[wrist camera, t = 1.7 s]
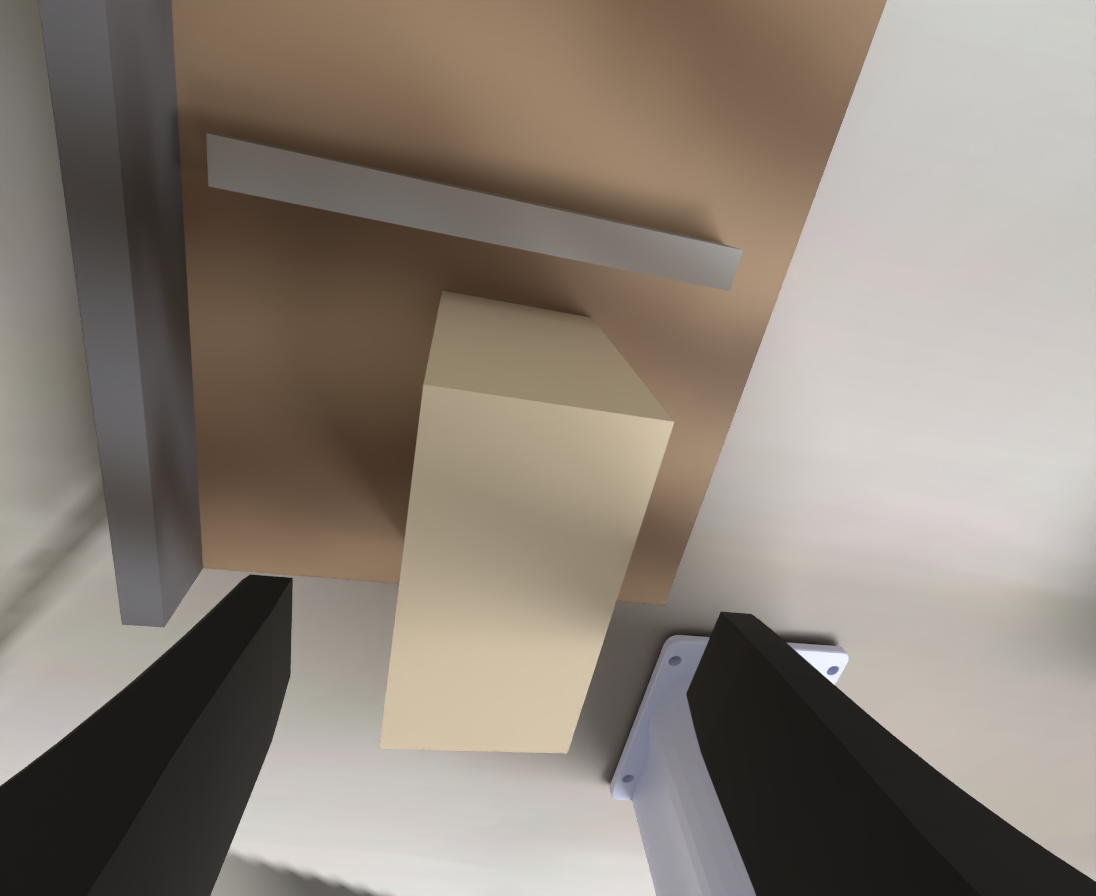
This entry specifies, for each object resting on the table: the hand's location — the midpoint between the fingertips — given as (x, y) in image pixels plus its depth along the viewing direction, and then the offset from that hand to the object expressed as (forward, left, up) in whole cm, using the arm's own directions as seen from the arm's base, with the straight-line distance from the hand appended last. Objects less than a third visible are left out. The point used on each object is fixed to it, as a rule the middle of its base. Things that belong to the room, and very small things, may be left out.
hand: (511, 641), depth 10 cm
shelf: (+4, +1, -9) cm, 10 cm away
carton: (0, 0, -8) cm, 8 cm away
